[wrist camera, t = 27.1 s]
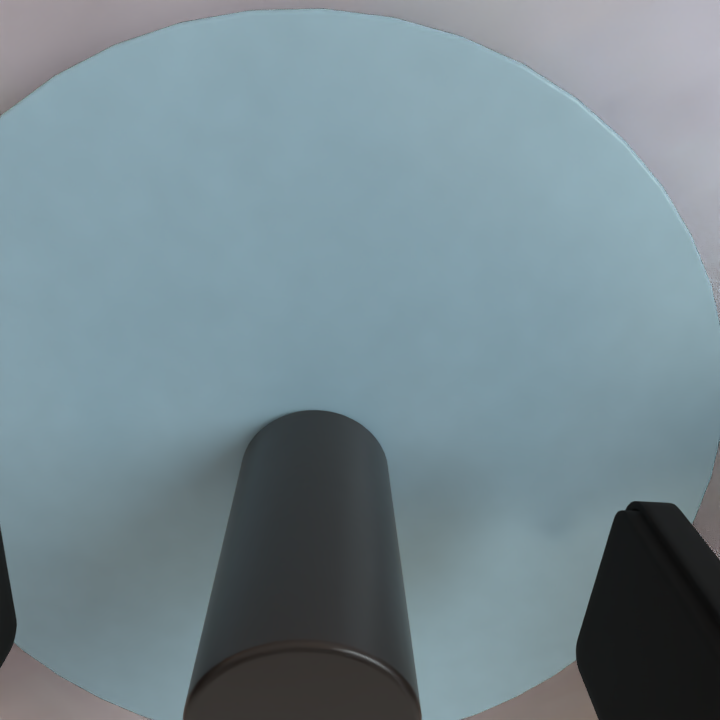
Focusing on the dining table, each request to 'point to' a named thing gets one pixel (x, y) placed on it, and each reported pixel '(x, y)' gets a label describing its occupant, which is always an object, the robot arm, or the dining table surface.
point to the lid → (331, 368)
